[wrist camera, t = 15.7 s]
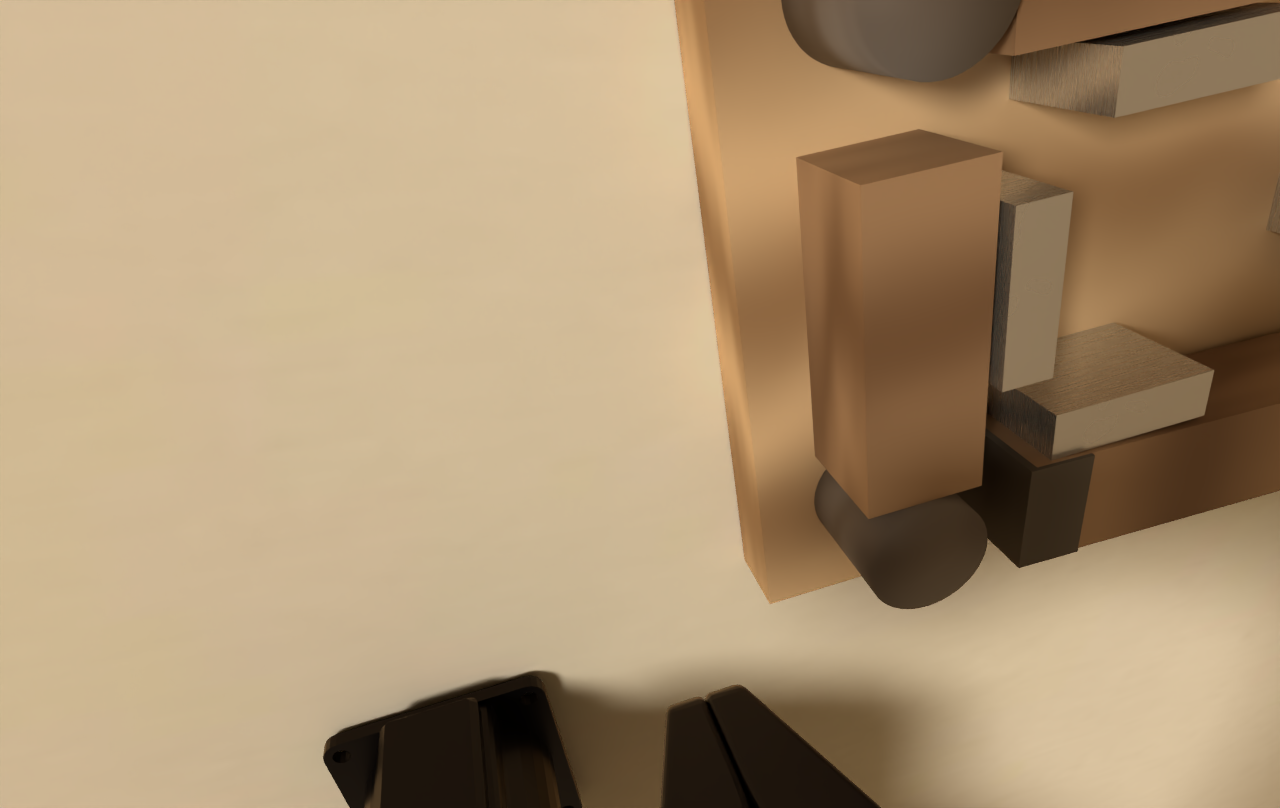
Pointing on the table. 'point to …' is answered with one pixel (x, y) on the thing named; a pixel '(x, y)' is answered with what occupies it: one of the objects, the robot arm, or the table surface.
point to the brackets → (1039, 228)
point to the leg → (1138, 466)
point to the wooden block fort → (935, 253)
